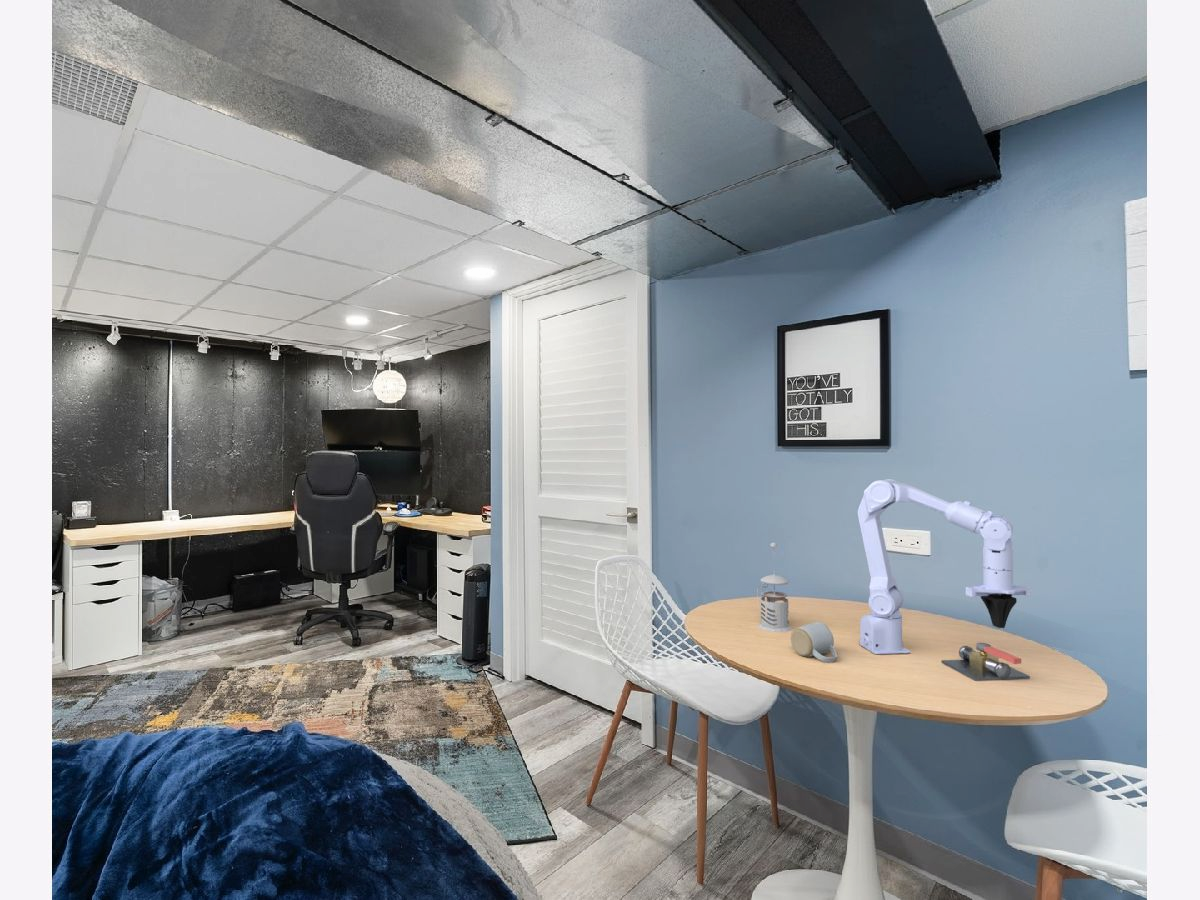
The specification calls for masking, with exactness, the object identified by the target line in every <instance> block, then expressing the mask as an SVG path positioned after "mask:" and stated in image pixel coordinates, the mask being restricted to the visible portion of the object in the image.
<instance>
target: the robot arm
mask: <svg viewBox="0 0 1200 900" xmlns="http://www.w3.org/2000/svg"><path fill="white" fill-rule="evenodd" d="M904 502H907V503H908V502H909V503H910V502H911V503H915V504H916V505H919V506H922V507H924V508H926V509H930V510H932V511H934V512H937V513H939V514H943V515H944V516H945V518H946V520H947V521H948V522H949V523H951V524H953V525H955V526H958V527H960V528H962V529H965V530H966V531H969V532H971V533H974V534H980V535H981V536H982V538H983V547H982V584H980V585H974V586H973V585H972V586H965V596H967V597H970V598H976V597H980V599H981V600H982V602H983V604H984V605H985V607H986V609H987V611H988V613H989V616H990V620H991V623H992V626H993V627H996V628H998V629H1005V627H1006V624H1007V621H1008V619H1009V615H1010V613H1011V611H1012V609H1013V607H1015V605H1016V603H1017V597H1013V596H1028V597H1029V596H1032V592H1031V591H1032V590H1031V589H1032V588H1031V587H1030V586H1027V585H1018V584H1017V585H1015V584H1014V570H1013V569H1014V561H1013V560H1014V559H1013V557H1014V556H1013V555H1014V554H1013V551H1014V550H1013V549H1012V548H1013V547H1012V546H1013V542H1012V538H1011V537H1012V535H1013V533H1014V527H1013V523H1012V522H1011V521H1010V520H1009V519H1007V518H1006V517H1004V515H1002V514H1001V515H999V514H994V512H993V511H991V510H988V511H986V510H985V509H984V510H983V509H980V508H978V507H976V506H973V505H972V502H970V501H967V500H964V502H963V501H961V500H957V501H953V502H949V501H947V500H945V499H942V498H940V497H938V496H936V495H934V494H931V493H930V492H927V491H925V490H922V489H920V488H918V487H915V486H913V485H911V484H907V483H905V482H900V481H899V482H898V481H897V480H896V479H891V478H889V479H884V480H882V479H881V480H880V479H879V480H875V481H873V482H872V483H870V484H869V485H868V487H866V489H864V491H863V496H862V499H861V501H860V503H859V505H858V506H859V507H858V509H857V516H858V518H857V519H858V522H859V527H860V531H861V532H860V533H861V536H862V537H861V538H862V541H863V542H862V543H863V548H864V551H865V557H866V561H867V565H868V566H867V567H868V570H869V576H870V583H869V597H868V607H869V609H870V613H869V614H865V615H862V616H861V617H860V623H859V624H860V625H859V627H860V633H859V634H860V639H859V640H860V642H859V643H858V645H860V646H862V647H863V648H865V649H866V650H868V651H869V652H871V653H872V654H875V655H886V654H887V655H889V654H890V655H891V654H910V653H911V651H910V650H909V649H907V648H906V647H903V614H902V612H901V610H900V608H901V607H902V606H903V604H904V595H903V593H902V592H901V590H900V589H899V588H898V584H897V580H896V579H895V578H894V577H893V575H892V569H891V564H890V560H889V556H888V551H887V546H886V541H885V537H884V533H883V527H882V521H881V518H880V516H881V515H882V514H883V513H884V512H886V510H887V508H888V507H889V506H891V505H894V504H895V503H904Z"/></svg>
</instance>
